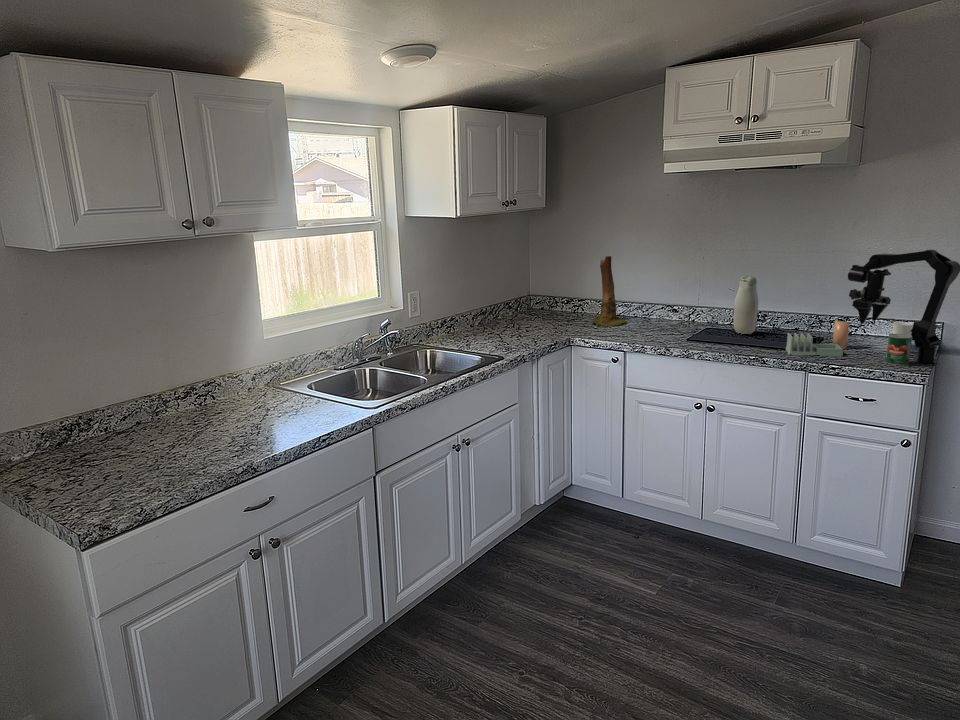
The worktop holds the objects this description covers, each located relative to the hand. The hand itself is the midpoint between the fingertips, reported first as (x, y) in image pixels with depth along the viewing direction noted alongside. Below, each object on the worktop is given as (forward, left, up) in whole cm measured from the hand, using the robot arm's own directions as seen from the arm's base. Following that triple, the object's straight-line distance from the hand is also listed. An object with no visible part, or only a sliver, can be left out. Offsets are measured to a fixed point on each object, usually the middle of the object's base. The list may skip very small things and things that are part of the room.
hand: (867, 322), depth 284 cm
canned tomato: (-20, -6, -13) cm, 24 cm away
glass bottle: (+31, +44, -13) cm, 55 cm away
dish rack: (-6, +21, -12) cm, 25 cm away
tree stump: (+53, +109, -13) cm, 122 cm away
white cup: (+12, -17, -13) cm, 25 cm away
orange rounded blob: (+7, +8, -13) cm, 16 cm away
